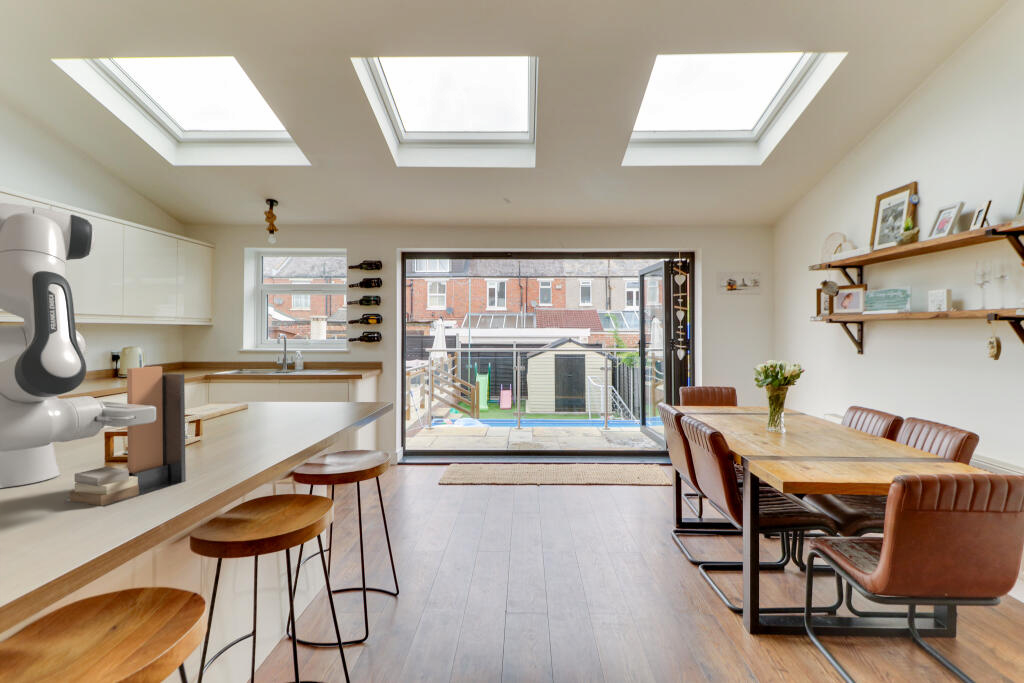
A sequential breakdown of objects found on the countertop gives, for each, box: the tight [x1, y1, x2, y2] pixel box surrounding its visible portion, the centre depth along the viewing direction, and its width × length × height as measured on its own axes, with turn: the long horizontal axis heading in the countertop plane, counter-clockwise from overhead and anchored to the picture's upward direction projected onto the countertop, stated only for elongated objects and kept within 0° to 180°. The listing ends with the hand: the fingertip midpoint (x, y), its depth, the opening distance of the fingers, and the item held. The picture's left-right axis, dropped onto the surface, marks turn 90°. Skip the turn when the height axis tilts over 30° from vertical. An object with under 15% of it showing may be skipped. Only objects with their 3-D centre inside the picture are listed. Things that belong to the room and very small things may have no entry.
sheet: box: [126, 365, 163, 473], centre depth 116 cm, size 7×2×24 cm, turn 162°
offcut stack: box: [69, 466, 139, 507], centre depth 108 cm, size 8×10×6 cm
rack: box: [65, 372, 187, 508], centre depth 112 cm, size 18×12×28 cm, turn 162°
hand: (147, 407), depth 116 cm, fingers closed on sheet, 2 cm apart
